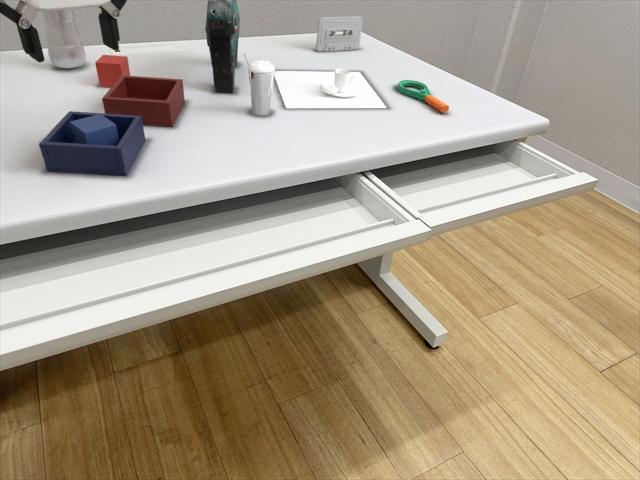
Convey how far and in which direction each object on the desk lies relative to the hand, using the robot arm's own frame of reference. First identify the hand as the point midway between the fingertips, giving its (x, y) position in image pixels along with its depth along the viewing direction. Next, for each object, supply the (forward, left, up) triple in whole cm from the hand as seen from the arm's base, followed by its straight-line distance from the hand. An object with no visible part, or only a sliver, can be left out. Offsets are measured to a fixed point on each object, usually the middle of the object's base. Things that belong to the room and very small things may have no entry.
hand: (76, 52), depth 62 cm
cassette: (+40, +59, -14) cm, 72 cm away
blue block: (+1, -2, -14) cm, 14 cm away
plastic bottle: (-16, +33, -14) cm, 40 cm away
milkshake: (+23, +17, -14) cm, 32 cm away
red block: (-5, +26, -14) cm, 31 cm away
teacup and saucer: (+36, +31, -14) cm, 50 cm away
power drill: (+15, +33, -14) cm, 39 cm away
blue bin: (+1, -2, -14) cm, 14 cm away
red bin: (+4, +14, -14) cm, 21 cm away
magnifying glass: (+56, +29, -14) cm, 65 cm away
